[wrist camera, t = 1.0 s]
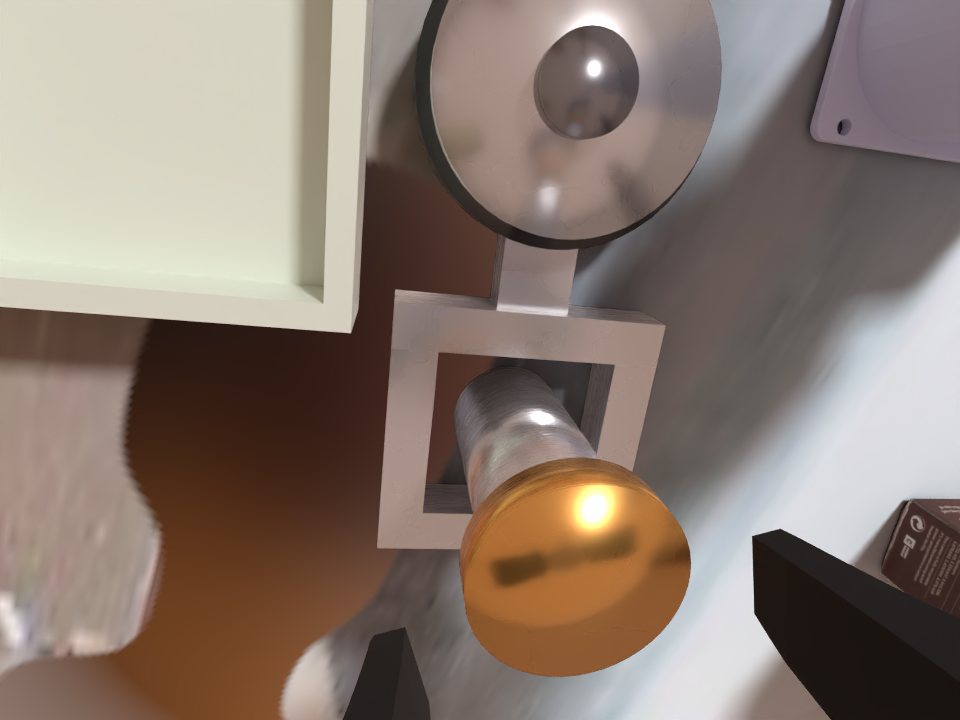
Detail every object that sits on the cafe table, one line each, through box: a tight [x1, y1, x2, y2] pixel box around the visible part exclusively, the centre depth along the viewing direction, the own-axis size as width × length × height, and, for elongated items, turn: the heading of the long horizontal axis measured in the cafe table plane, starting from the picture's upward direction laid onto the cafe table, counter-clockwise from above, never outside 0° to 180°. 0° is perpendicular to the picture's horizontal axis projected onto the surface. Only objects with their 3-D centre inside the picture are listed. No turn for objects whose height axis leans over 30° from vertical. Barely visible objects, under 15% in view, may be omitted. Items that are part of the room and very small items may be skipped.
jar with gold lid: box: [454, 367, 691, 677], centre depth 17 cm, size 5×5×9 cm
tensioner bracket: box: [377, 0, 722, 549], centre depth 17 cm, size 9×20×4 cm, turn 173°
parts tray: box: [0, 0, 374, 333], centre depth 14 cm, size 13×13×3 cm
